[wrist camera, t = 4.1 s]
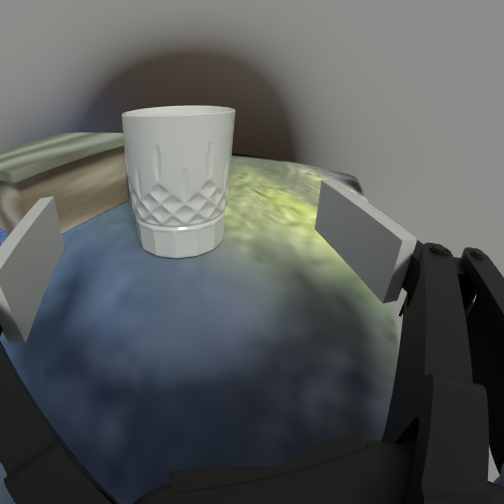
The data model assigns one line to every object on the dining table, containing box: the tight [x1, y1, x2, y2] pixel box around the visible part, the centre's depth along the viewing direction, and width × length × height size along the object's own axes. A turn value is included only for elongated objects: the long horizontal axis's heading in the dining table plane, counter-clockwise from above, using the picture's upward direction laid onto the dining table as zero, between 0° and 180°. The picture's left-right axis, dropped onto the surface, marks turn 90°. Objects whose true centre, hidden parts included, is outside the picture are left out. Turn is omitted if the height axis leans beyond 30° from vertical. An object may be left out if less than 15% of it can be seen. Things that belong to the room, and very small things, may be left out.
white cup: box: [122, 106, 235, 258], centre depth 23 cm, size 8×8×10 cm
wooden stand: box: [0, 133, 128, 234], centre depth 27 cm, size 14×14×7 cm
